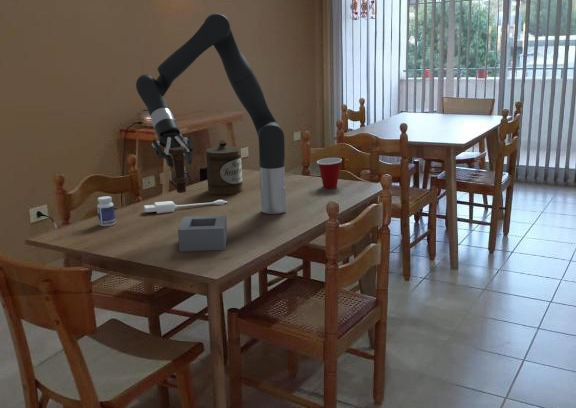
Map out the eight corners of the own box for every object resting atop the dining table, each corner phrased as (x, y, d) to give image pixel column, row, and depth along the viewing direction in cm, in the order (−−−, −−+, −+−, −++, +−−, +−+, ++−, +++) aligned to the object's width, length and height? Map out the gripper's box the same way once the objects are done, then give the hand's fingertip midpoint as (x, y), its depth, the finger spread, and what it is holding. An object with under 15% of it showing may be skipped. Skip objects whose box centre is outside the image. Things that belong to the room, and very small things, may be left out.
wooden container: (229, 196, 249) (226, 144, 243) (201, 193, 256) (197, 142, 251) (249, 188, 262) (247, 138, 256) (221, 185, 269) (219, 136, 263)
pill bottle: (118, 222, 218) (116, 196, 215) (109, 227, 213) (106, 200, 210) (105, 221, 220) (102, 195, 217) (95, 226, 215) (92, 199, 212)
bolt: (185, 194, 198) (181, 149, 194) (171, 194, 199) (166, 149, 195) (191, 190, 204) (188, 146, 199) (177, 189, 205) (173, 146, 201)
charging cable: (228, 207, 238) (228, 199, 237) (146, 214, 226) (145, 206, 225) (225, 204, 242) (225, 196, 241) (144, 211, 231) (143, 203, 230)
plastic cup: (313, 185, 264) (313, 158, 261) (336, 183, 267) (336, 156, 264) (322, 191, 254) (321, 163, 251) (345, 188, 257) (345, 161, 254)
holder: (227, 235, 200) (226, 215, 199) (224, 249, 187) (223, 228, 185) (185, 236, 200) (183, 216, 198) (179, 251, 186) (177, 230, 185)
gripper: (146, 119, 197) (162, 161, 191) (187, 115, 204) (204, 155, 198) (142, 134, 203) (158, 174, 197) (182, 129, 210) (198, 168, 204)
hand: (181, 164), depth 197 cm, fingers closed on bolt, 5 cm apart
